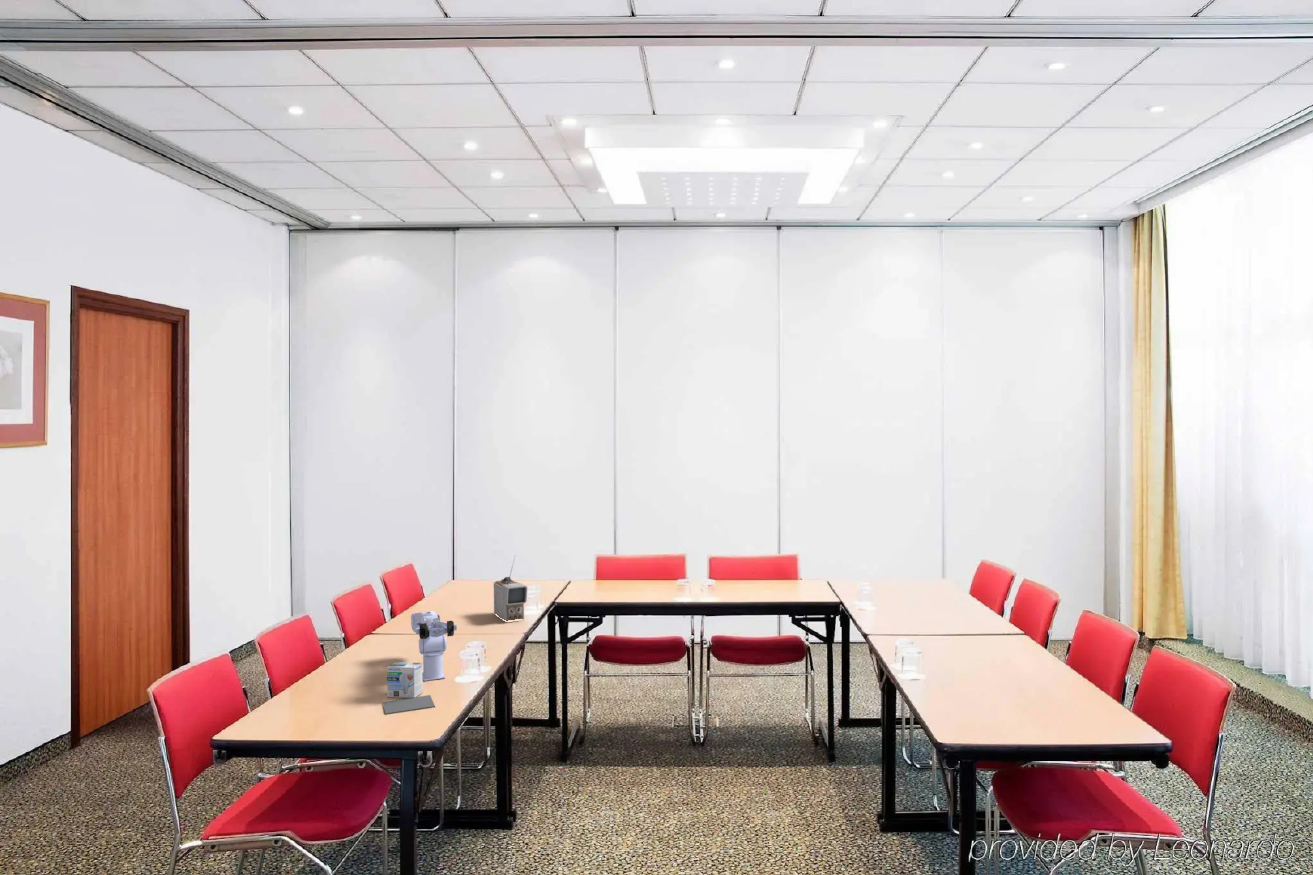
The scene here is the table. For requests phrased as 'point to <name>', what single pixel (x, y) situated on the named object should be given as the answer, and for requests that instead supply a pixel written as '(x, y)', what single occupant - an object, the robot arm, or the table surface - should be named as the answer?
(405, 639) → the table surface
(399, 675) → the light bulb box
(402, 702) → the mat
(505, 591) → the portable television
